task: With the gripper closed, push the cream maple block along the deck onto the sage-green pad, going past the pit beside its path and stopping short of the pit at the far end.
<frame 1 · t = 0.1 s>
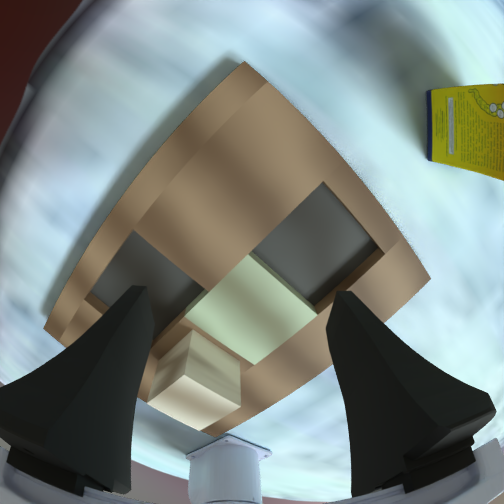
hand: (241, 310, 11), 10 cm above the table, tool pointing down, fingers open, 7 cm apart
deck: (221, 305, 23), on the table
supplement box: (450, 129, 18), on the table
block: (198, 361, 23), point 1 cm above the table, touching deck
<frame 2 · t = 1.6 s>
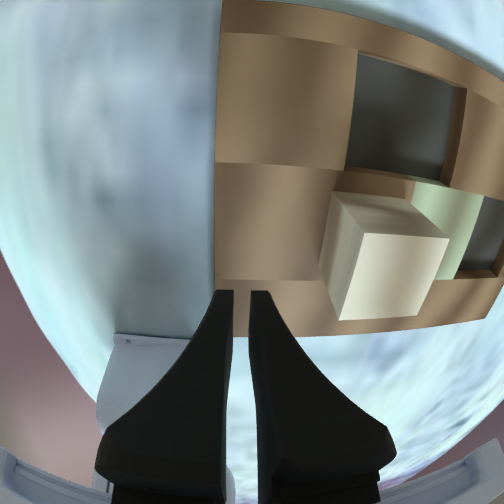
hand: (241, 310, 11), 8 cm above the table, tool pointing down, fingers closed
deck: (420, 204, 18), on the table
block: (362, 232, 17), point 1 cm above the table, touching deck
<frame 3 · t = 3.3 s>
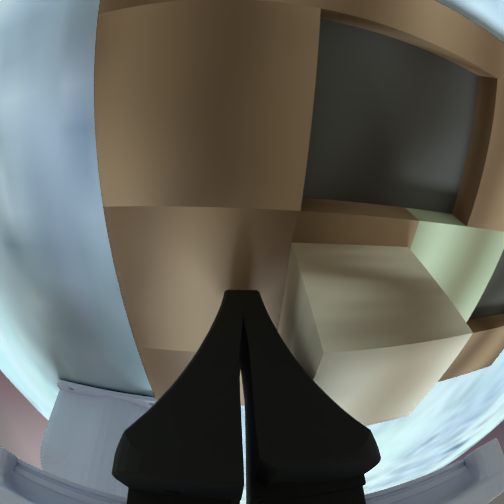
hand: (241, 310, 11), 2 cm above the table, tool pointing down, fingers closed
deck: (423, 246, 13), on the table
block: (340, 295, 12), point 2 cm above the table, touching deck, gripper
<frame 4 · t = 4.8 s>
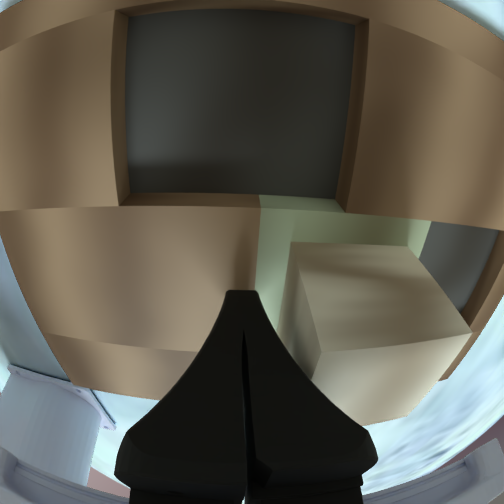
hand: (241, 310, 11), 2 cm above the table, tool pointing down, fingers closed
deck: (302, 240, 12), on the table
block: (340, 295, 12), point 1 cm above the table, touching deck, gripper
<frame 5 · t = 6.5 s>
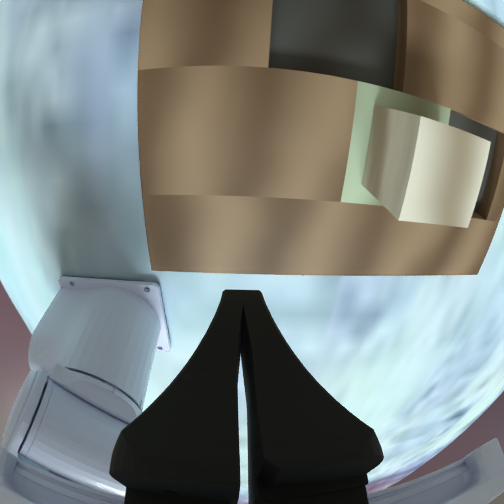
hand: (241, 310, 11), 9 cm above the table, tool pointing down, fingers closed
deck: (374, 116, 16), on the table
block: (402, 152, 15), point 1 cm above the table, touching deck
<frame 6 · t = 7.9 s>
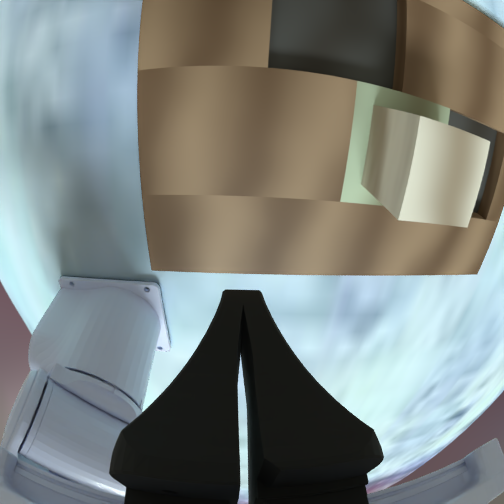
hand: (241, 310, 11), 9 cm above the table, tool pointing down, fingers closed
deck: (373, 116, 16), on the table
block: (402, 151, 15), point 1 cm above the table, touching deck
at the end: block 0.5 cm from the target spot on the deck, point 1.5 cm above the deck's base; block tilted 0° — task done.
